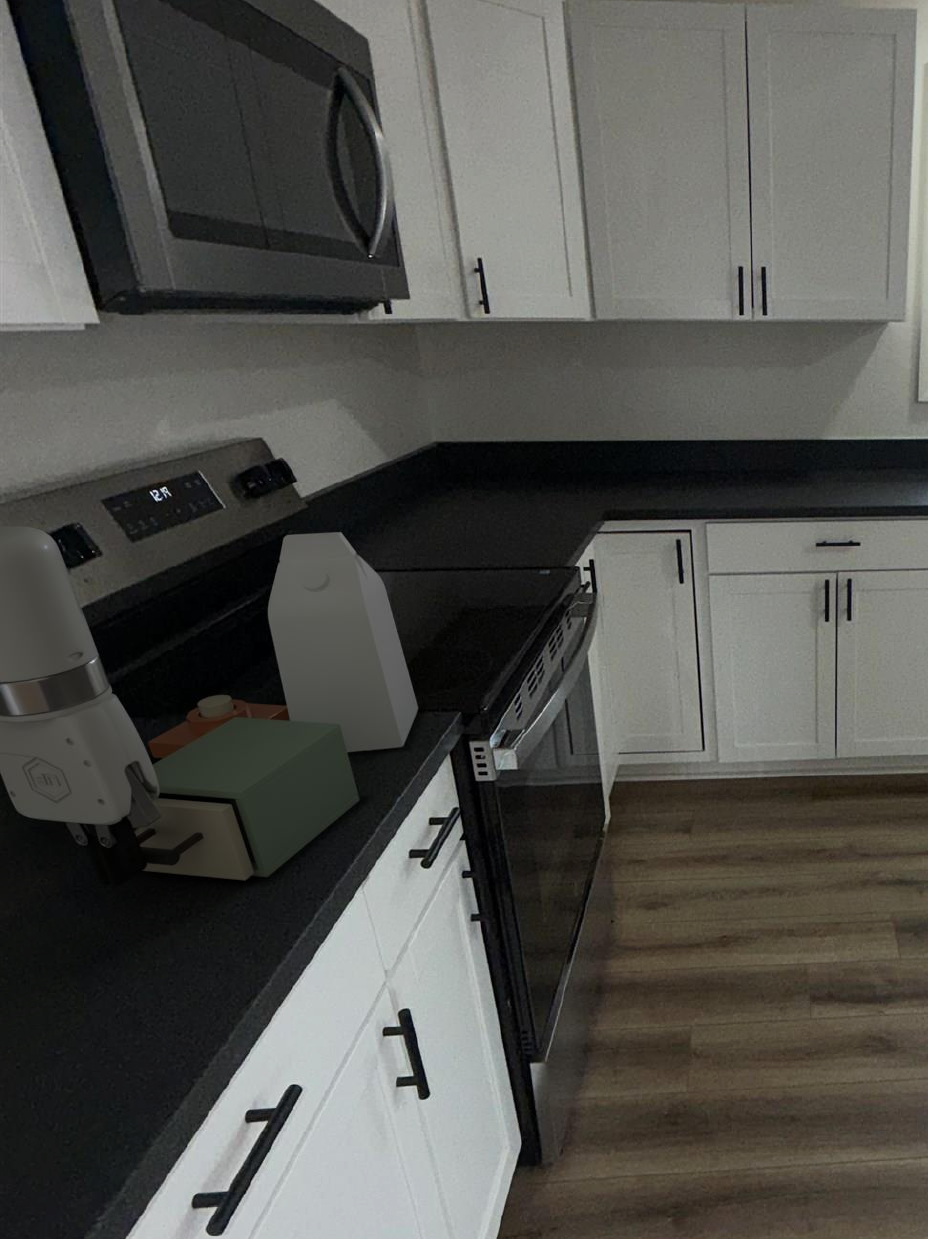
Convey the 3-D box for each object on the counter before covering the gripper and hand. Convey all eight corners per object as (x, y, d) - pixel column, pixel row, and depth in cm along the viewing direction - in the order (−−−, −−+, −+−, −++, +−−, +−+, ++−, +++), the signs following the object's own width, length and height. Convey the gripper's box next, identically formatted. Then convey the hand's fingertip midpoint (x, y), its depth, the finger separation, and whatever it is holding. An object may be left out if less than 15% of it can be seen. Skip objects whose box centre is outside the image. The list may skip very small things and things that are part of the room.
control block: (226, 763, 107) (216, 734, 105) (153, 757, 108) (142, 728, 106) (293, 720, 118) (286, 693, 116) (226, 715, 119) (218, 688, 117)
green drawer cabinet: (267, 877, 86) (239, 792, 82) (152, 866, 87) (120, 782, 83) (359, 800, 99) (340, 723, 95) (258, 792, 101) (235, 716, 97)
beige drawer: (210, 909, 80) (184, 836, 77) (100, 897, 82) (69, 826, 78) (336, 806, 96) (319, 743, 93) (242, 799, 97) (221, 736, 94)
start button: (220, 720, 109) (216, 707, 109) (194, 718, 110) (190, 705, 109) (241, 708, 113) (237, 695, 112) (216, 706, 113) (212, 693, 112)
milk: (418, 708, 121) (377, 521, 110) (402, 746, 111) (356, 543, 100) (322, 718, 118) (271, 526, 107) (298, 757, 108) (238, 550, 97)
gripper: (-83, 699, 67) (10, 894, 75) (87, 712, 65) (165, 911, 73) (12, 663, 74) (89, 845, 82) (169, 673, 72) (233, 859, 80)
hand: (125, 875), depth 78 cm, fingers closed
